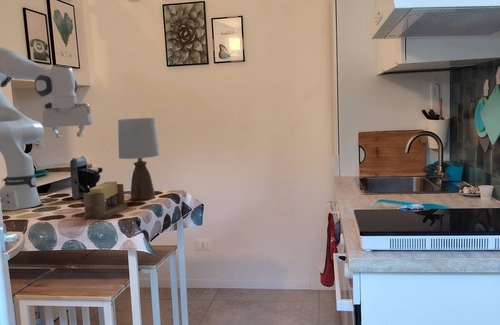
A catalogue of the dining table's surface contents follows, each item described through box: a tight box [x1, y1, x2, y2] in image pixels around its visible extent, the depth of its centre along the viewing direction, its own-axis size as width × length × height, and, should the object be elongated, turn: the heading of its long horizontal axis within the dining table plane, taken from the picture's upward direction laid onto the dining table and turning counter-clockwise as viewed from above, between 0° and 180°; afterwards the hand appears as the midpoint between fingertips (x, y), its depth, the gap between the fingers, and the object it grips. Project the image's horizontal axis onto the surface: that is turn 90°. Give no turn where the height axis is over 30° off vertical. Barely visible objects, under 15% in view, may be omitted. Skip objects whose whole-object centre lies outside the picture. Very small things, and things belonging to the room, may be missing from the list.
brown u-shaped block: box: [82, 183, 128, 220], centre depth 190 cm, size 10×20×10 cm, turn 174°
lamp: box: [117, 117, 161, 201], centre depth 217 cm, size 19×19×37 cm
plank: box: [90, 181, 118, 200], centre depth 189 cm, size 4×16×5 cm, turn 174°
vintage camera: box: [69, 156, 104, 200], centre depth 225 cm, size 10×16×20 cm, turn 80°
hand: (69, 137), depth 196 cm, fingers open, 8 cm apart
